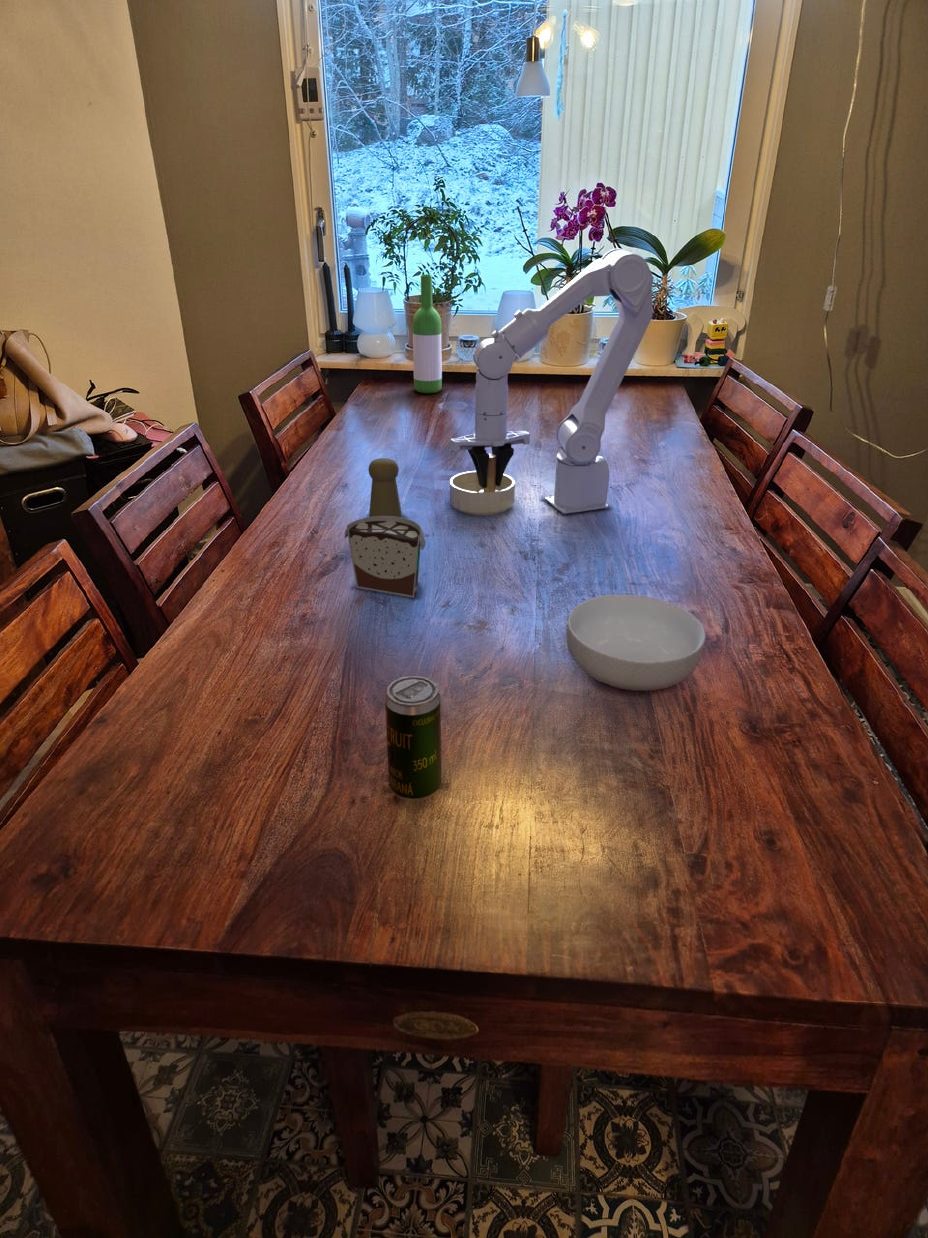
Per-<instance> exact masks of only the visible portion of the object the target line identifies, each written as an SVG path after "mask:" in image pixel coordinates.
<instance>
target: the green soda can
mask: <svg viewBox="0 0 928 1238" xmlns="http://www.w3.org/2000/svg"><path fill="white" fill-rule="evenodd" d="M384 703H385V704H384V708H385V729H386V750H387V770H388V786H389V788H390V790H391V791H392V793H393V794H394V795H395V797H397V798H398V799H399V800H401V801H404V802H409V803H421V802H424V801H427V800H429V799H431V798H433V797H434V796H435V795H436V794H437V792H438V790H439V789H440V786H441V784H442V711H441V710H442V709H441V708H442V707H441V706H442V705H441V704H442V699H441V694H440V693H439V687H438V685H437V683H436V682H435V681H433V680H431V679H430V678H428V677H424V676H419V675H407V676H403V677H399V678H397V679H394V680H393V681H392V682H391V683H389V684H388V686H387V688H386V694H385V697H384Z"/></svg>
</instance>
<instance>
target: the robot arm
mask: <svg viewBox="0 0 928 1238" xmlns="http://www.w3.org/2000/svg"><path fill="white" fill-rule="evenodd" d="M654 280H655V279H654V275H653V273H652V271H651V269H650V267H649V264H648V262H647V260H646V259H645V258H644V257H642V256H641V255H640V254H637V253H631V252H629V251H628V250H625V249H623V248H612V249H610V250H609V251H607V252H605V253H604V254H603V256H601V258H597V259H596V260H594V261H592V262H591V263H590V264H589V265H588V266H587V267H585V268H584V269H583V270H582V271H580V272H579V273H578V274H577V275H576V276H575V277H574V278H573V279H571V280H570V281H569V282H568V283H566V285H564V286H563V288H561V289H560V290H559V291H557V292H556V293H555V294H554V295H553V296H552V297H550V298H549V299H548V300H547V301H546V302H545V303H544V304H543V305H541V306H540V307H539V308H538V309H535V308H533V309H532V308H526V309H525V310H523V311H521V310H520V309H518V310H517V311H516V312H515V313H514V314H513V317H514V318H513V319H512V320H511V321H509V322H508V323H507V324H506V325H505V326H503V327H502V328H500V329H499V330H498V331H497V330H494V331H492V332H491V334H490V335H491V336H492V337H490V338H485V339H483V340H482V341H480V342H479V343H478V344H477V346H476V349H475V350H474V354H472V359H473V362H474V364H475V366H476V367H477V369H476V374H475V381H476V382H475V386H474V389H475V390H474V433H472V434H471V433H470V434H467V435H464V436H463V435H462V436H460V437H453V438H450V450H451V451H452V452H453V453H460V452H461V451H467V452H468V454H469V456H470V459H471V461H472V463H473V466H474V468H475V471H476V472H477V476H478V481H479V485H480V486H481V487H482V488H486V487H487V468H488V462H489V457H490V455H489V454H490V453H488V452H487V448H491V454H494V455H496V486H500V485H501V481H502V477H503V474H505V472H506V469H507V466H508V465H509V462H510V461H511V459H512V457H513V456H514V454H515V448H513V447H512V446H513V445H521V444H522V445H530V438H531V434H530V433H529V432H528V431H526V430H516V431H511V430H508V411H509V410H508V409H509V407H508V406H509V385H508V379H509V378H508V377H509V376H508V375H509V373H510V372H511V370H512V368H513V363H514V362H517V361H519V360H520V359H521V358H523V357H524V356H525V355H527V354H528V353H530V351H532V350H533V349H534V348H535V347H537V346H538V345H539V344H541V343H542V342H543V341H544V340H545V339H547V338H548V335H549V330H550V326H551V325H552V324H555V322H557V321H558V320H560V319H561V318H563V317H564V316H566V315H567V314H568V313H570V312H571V311H572V310H574V309H576V308H577V307H578V306H579V305H580V304H582V303H584V302H585V301H586V300H588V299H589V298H593V297H594V298H595V297H610V296H611V297H612V299H613V302H614V304H615V307H616V310H617V312H618V317H617V319H616V321H615V324H614V325H613V328H612V330H611V333H610V335H609V336H608V339H607V340H606V343H605V345H604V348H603V349H602V351H601V354H600V356H599V358H598V360H597V363H596V365H595V367H594V369H593V371H592V373H591V376H590V378H589V380H588V382H587V383H586V386H585V389H584V391H583V392H582V395H581V397H580V399H579V401H578V402H577V403H575V405H573V406H572V407H571V409H570V412H569V413H568V415H567V416H566V417H565V418H564V419H563V420H561V422H560V423H559V424H558V425H557V428H556V430H555V431H556V432H555V438H556V441H557V443H558V444H559V446H560V448H559V451H558V452H557V454H556V461H555V463H556V464H555V466H556V467H555V476H554V477H555V478H554V492H553V495H552V496H545V498H544V499H545V501H546V502H547V503H549V504H550V505H551V506H552V507H553V508H555V509H556V510H557V511H559V512H560V513H561V514H563V515H567V514H574V513H581V512H588V511H596V510H602V509H608V508H609V505H608V504H607V501H608V493H609V482H610V468H609V464H608V463H609V462H608V461H607V460H606V459H605V457H604V456H601V455H599V453H600V451H601V447H602V446H601V441H602V436H603V434H604V431H605V426H606V415H607V412H608V410H609V409H610V407H611V404H612V402H613V400H614V398H615V396H616V394H617V392H618V390H619V388H620V386H621V383H622V381H623V379H624V377H625V375H626V373H627V371H628V368H629V367H630V365H631V363H632V360H633V358H634V356H635V354H636V352H637V350H638V348H639V347H640V344H641V341H642V339H643V337H644V335H645V333H646V331H647V330H648V327H649V325H650V323H651V321H652V318H653V314H654V311H653V310H654V309H653V283H654Z"/></svg>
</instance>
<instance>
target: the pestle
mask: <svg viewBox="0 0 928 1238" xmlns="http://www.w3.org/2000/svg"><path fill="white" fill-rule="evenodd" d="M488 454H489V455H490V457H489V462H488V468H487V487H486V488H484V489H483V490H480V491H479V492H494V491H498V490H495V488H496V455H494V454H492V453H488Z"/></svg>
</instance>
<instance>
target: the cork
mask: <svg viewBox="0 0 928 1238" xmlns="http://www.w3.org/2000/svg"><path fill="white" fill-rule="evenodd" d="M399 472H400V471H399V465H398V463H397V461H396V460H395V459H392V458H388V457H381V458H375V459H373V460H372V461H370V463H369V465H368V474H369V477H370V479H371V489H370V502H369V512H368V517H373V516H396V517H402V518H403V514H402V507H401V501H400V495H399V490H398V484H397V477H398V475H399Z"/></svg>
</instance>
